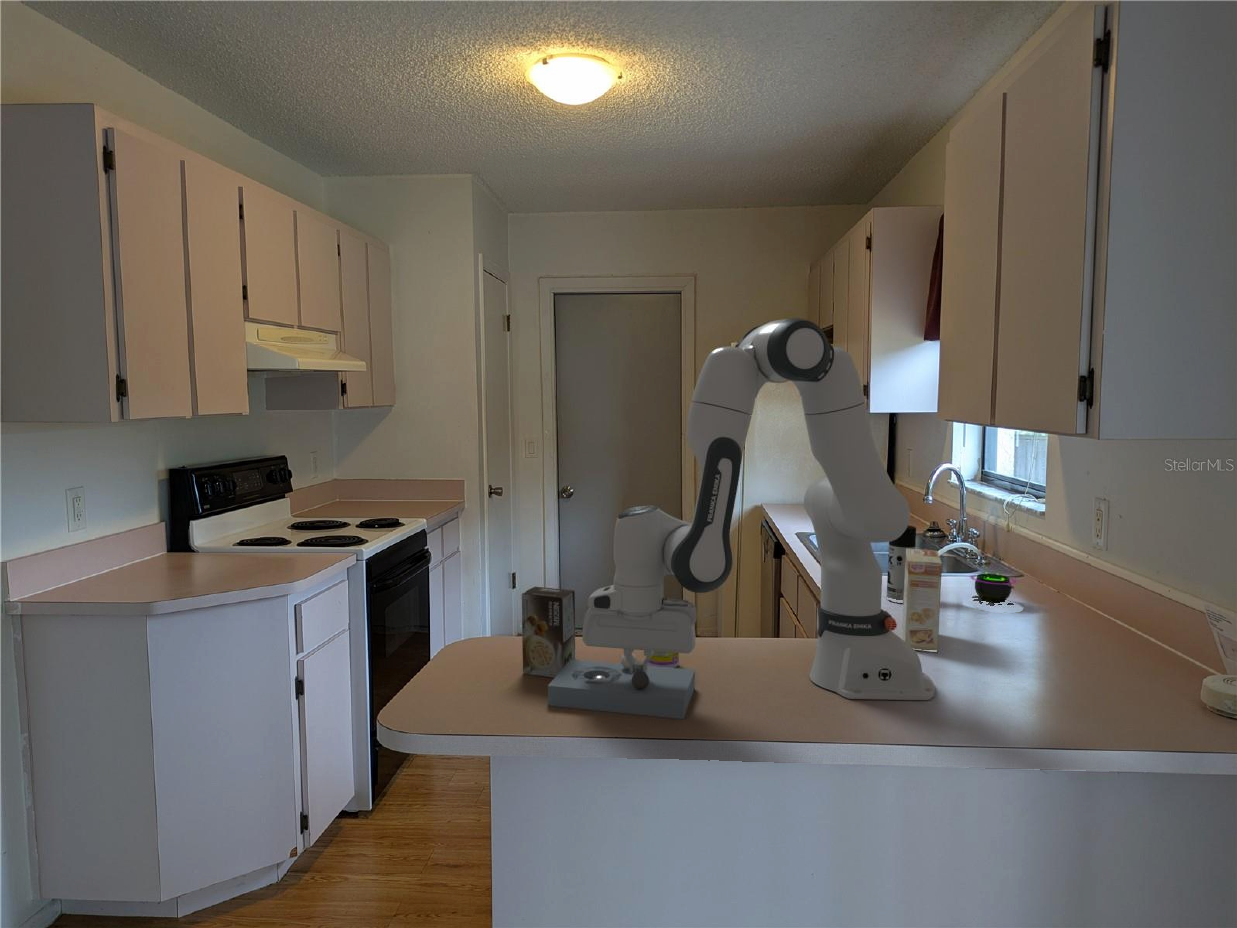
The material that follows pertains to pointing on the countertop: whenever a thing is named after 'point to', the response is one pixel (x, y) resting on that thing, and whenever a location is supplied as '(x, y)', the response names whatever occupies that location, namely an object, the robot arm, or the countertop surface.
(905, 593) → the coffeecake box
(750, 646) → the countertop surface
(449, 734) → the countertop surface
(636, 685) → the black ball
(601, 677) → the steel ball
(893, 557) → the spray can
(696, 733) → the countertop surface
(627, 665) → the cream ball
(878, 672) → the robot arm
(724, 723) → the countertop surface
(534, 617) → the coffee box
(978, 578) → the toy cauldron
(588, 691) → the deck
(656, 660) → the supplement bottle
